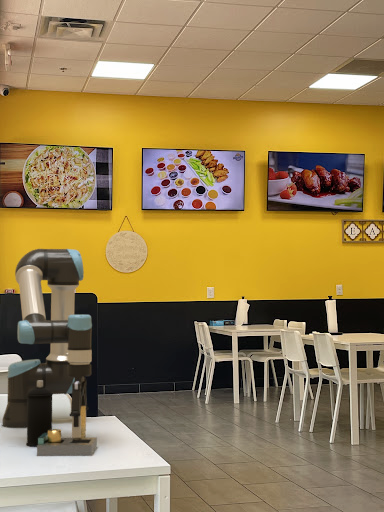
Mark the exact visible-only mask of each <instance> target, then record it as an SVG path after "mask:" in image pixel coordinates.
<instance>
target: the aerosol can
mask: <svg viewBox="0 0 384 512" xmlns="http://www.w3.org/2000/svg"><path fill="white" fill-rule="evenodd" d="M53 395H54V394H53V393H51V391H50V390H49V389H47V388H44V387H43V380H38V381H37V387H36V388H34V389H32V390H31V391H30V392H29V393H28V394H27V427H26V443H25V445H26V446H27V447H32V448H37V445H38V438H39V437H40V436H41V435H42V434H43V433H48V430H51V429H53Z"/></svg>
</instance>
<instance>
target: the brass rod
mask: <svg viewBox="0 0 384 512" xmlns="http://www.w3.org/2000/svg"><path fill="white" fill-rule="evenodd" d="M80 416H81V438H87V437H86V432H87V410H86V406H81V415H80Z"/></svg>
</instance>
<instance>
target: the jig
mask: <svg viewBox="0 0 384 512" xmlns="http://www.w3.org/2000/svg"><path fill="white" fill-rule="evenodd" d="M97 439H98V438H97V437H86V438H72V437H62V429H59V428H54V429H53V428H52V429H51V430H48V433H43V434H42V435H41V436H40V437H39V438H38V445H37V447H36V456H37V457H45V456H46V457H57V456H58V457H61V456H63V457H66V456H72V457H73V456H76V457H77V456H82V457H83V456H93V454H94V453H95V451H96V449H97V443H98V441H97Z"/></svg>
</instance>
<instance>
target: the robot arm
mask: <svg viewBox="0 0 384 512" xmlns="http://www.w3.org/2000/svg"><path fill="white" fill-rule="evenodd" d="M84 273H85V272H84V264H83V258H82V254H81V253H80V251H79V250H77V249H69V248H37V249H36V248H35V249H32V250H30V251H29V252H27V253H25V254H24V255H23V256H22V257H21V258H20V260H19V261H18V263H17V265H16V266H15V271H14V277H15V281H16V283H17V284H18V287H19V297H20V305H21V316H22V317H21V318H22V320H19V321H18V322H17V341H18V343H20V344H27V345H38V344H39V345H40V344H41V345H42V344H50V352H49V354H48V356H47V357H46V358H45V362H42V363H41V359H39V358H38V359H37V358H35V359H25V360H20V361H16V362H13V363H11V364H9V365H8V368H7V376H6V377H7V405H6V407H5V411H4V413H3V417H2V424H3V425H4V426H3V425H2V426H3V427H5V426H7V427H6V428H13V429H14V428H27V394H28V393H29V392H30V391H31V390H32V389H34V388H36V387H37V381H38V380H43V387H44V388H47V389H49V390H50V391H51V393H53V395H68V394H71V407H70V408H71V409H70V413H69V417H71V438H81V416H80V415H81V406H86V411H88V410H89V406H88V403H87V402H88V401H87V399H88V398H87V378H86V377H90V376H91V375H92V364H91V363H92V359H93V358H92V356H93V355H92V354H93V353H92V350H93V349H92V327H93V323H92V316H91V315H90V314H75V299H76V298H75V294H76V292H75V291H76V289H77V288H78V287H79V286H80V282H81V281H83V279H84ZM42 281H47V286H48V287H49V288H50V290H51V302H50V307H51V308H50V320H49V319H48V320H47V318H46V310H45V303H44V296H43V290H42Z"/></svg>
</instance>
